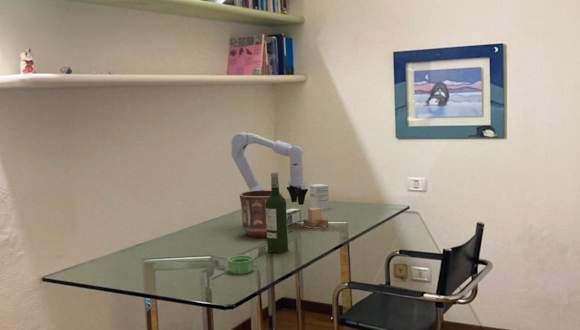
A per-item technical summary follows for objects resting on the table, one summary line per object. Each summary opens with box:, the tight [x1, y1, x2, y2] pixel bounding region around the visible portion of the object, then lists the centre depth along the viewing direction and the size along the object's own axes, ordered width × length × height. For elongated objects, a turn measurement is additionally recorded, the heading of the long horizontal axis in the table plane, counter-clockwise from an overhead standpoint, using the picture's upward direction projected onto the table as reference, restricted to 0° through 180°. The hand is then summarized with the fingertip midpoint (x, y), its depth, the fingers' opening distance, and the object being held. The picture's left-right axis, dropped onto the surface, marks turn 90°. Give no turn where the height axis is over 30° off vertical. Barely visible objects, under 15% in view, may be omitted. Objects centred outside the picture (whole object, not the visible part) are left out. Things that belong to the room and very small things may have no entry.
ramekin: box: [227, 254, 255, 275], centre depth 210 cm, size 9×9×4 cm
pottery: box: [239, 189, 283, 239], centre depth 262 cm, size 18×18×18 cm
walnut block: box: [302, 217, 329, 229], centre depth 275 cm, size 8×8×4 cm
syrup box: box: [286, 208, 303, 226], centre depth 284 cm, size 6×6×14 cm
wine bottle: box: [265, 172, 289, 254], centre depth 233 cm, size 8×8×30 cm
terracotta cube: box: [307, 207, 323, 221], centre depth 275 cm, size 4×4×5 cm
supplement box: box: [309, 183, 330, 211], centre depth 315 cm, size 7×7×13 cm
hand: (297, 203), depth 276 cm, fingers open, 7 cm apart
